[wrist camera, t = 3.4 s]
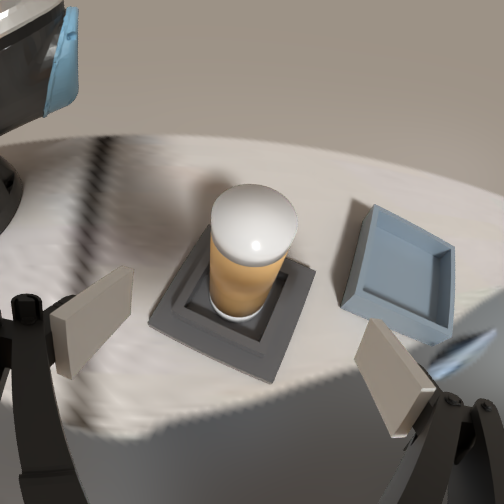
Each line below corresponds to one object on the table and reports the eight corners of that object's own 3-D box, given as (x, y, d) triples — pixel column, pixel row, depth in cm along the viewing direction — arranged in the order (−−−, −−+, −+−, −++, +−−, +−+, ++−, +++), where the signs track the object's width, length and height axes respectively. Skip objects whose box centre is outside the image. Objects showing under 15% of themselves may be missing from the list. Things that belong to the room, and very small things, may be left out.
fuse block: (149, 326, 26) (143, 317, 24) (208, 229, 32) (208, 215, 30) (270, 384, 24) (276, 381, 22) (313, 275, 31) (320, 264, 29)
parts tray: (340, 307, 29) (354, 294, 26) (362, 221, 36) (374, 203, 33) (432, 346, 28) (451, 337, 25) (439, 260, 34) (454, 246, 31)
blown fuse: (199, 307, 26) (195, 230, 16) (224, 264, 29) (234, 173, 19) (250, 332, 26) (280, 268, 16) (271, 285, 28) (308, 203, 18)
